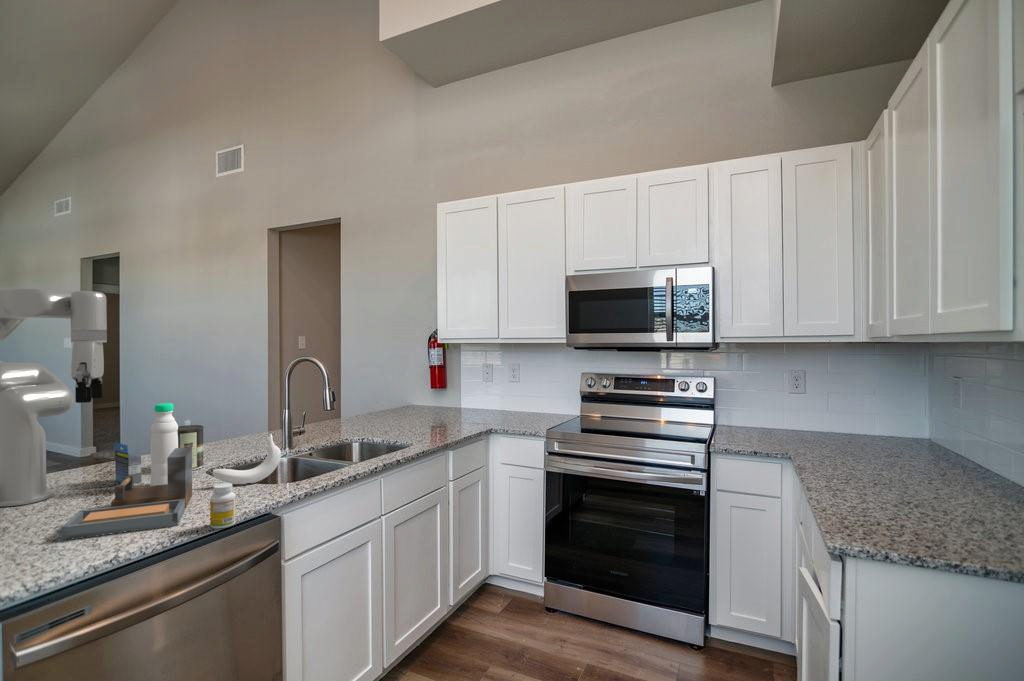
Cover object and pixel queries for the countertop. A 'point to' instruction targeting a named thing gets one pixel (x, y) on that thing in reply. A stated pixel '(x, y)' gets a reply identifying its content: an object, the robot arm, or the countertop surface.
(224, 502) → the supplement bottle
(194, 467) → the coffee can
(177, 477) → the dispenser
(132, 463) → the label tape cartridge
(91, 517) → the orange rectangular block
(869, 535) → the countertop surface
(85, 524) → the tray
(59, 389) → the robot arm
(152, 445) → the water bottle
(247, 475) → the banana
